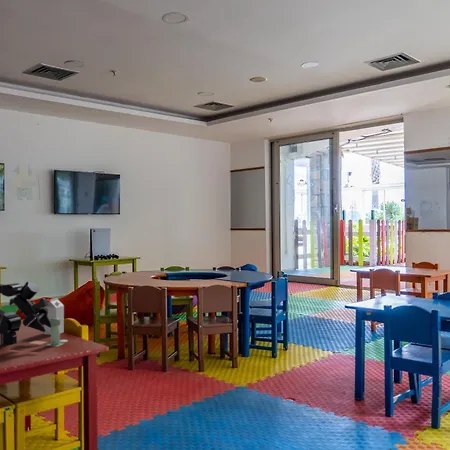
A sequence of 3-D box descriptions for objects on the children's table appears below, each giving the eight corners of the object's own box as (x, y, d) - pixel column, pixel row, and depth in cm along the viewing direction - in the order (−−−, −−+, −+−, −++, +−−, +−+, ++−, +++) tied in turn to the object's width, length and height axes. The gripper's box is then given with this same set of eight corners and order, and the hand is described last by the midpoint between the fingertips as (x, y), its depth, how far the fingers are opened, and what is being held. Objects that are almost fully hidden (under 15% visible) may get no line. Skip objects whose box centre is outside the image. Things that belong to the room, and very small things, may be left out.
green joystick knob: (48, 345, 228) (48, 319, 228) (54, 342, 232) (54, 317, 232) (56, 345, 226) (56, 319, 226) (62, 343, 230) (62, 318, 230)
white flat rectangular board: (25, 346, 230) (25, 343, 230) (45, 339, 243) (45, 337, 243) (56, 349, 224) (56, 347, 224) (75, 342, 237) (75, 340, 237)
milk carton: (43, 336, 250) (43, 299, 250) (51, 333, 257) (51, 297, 257) (56, 337, 248) (56, 299, 248) (63, 334, 255) (64, 297, 255)
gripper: (29, 296, 220) (54, 321, 220) (44, 290, 238) (66, 313, 238) (12, 313, 219) (36, 338, 220) (27, 306, 238) (50, 329, 238)
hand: (48, 329), depth 229 cm, fingers open, 9 cm apart
